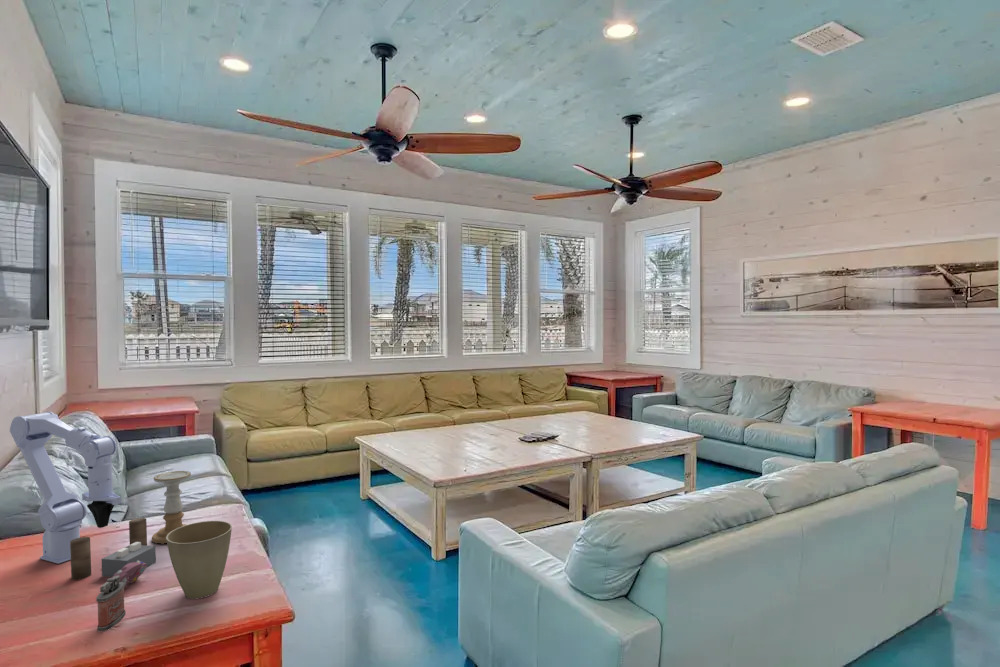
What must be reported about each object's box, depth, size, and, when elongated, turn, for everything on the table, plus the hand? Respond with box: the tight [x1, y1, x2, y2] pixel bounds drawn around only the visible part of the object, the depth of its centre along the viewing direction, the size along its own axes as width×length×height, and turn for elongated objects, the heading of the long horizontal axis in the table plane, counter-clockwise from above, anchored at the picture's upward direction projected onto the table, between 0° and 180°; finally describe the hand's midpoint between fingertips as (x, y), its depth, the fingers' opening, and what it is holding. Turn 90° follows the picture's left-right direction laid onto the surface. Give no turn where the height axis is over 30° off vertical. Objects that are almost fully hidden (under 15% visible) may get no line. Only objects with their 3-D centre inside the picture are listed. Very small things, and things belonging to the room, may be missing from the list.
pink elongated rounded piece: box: [111, 560, 148, 587], centre depth 150 cm, size 10×5×7 cm, turn 170°
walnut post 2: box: [128, 517, 148, 546], centre depth 170 cm, size 4×4×10 cm
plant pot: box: [166, 520, 233, 600], centre depth 146 cm, size 15×15×16 cm
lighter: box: [95, 576, 126, 632], centre depth 132 cm, size 8×3×10 cm, turn 5°
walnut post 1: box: [70, 536, 92, 581], centre depth 156 cm, size 4×4×10 cm
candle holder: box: [151, 470, 192, 545], centre depth 183 cm, size 12×12×20 cm
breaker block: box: [101, 542, 157, 578], centre depth 160 cm, size 8×10×7 cm
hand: (102, 526), depth 164 cm, fingers closed
